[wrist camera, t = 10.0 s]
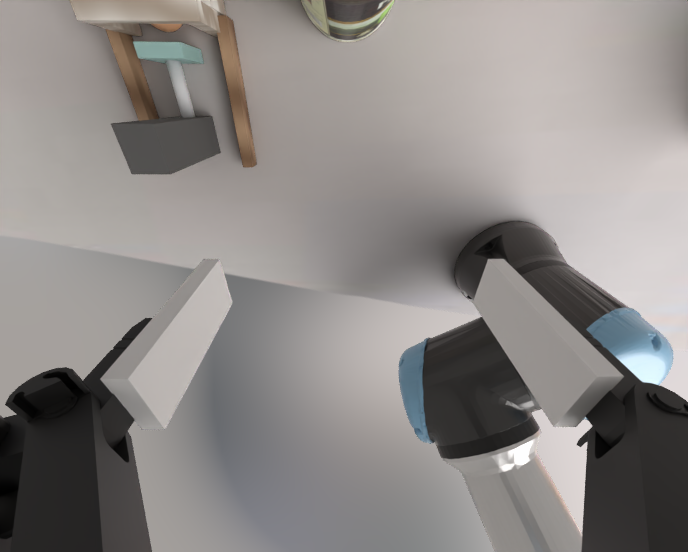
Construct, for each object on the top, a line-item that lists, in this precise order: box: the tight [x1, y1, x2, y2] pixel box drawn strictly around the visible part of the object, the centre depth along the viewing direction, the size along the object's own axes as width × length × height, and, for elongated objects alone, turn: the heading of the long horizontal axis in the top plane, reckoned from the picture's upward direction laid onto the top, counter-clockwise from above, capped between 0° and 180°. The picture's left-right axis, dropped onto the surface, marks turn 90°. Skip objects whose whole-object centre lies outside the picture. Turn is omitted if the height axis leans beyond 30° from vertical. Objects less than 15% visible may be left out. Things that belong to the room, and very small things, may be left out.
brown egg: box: [151, 24, 182, 32], centre depth 25 cm, size 4×4×4 cm
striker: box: [111, 42, 220, 174], centre depth 26 cm, size 10×4×12 cm, turn 0°
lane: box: [69, 0, 257, 167], centre depth 27 cm, size 20×12×6 cm, turn 0°
